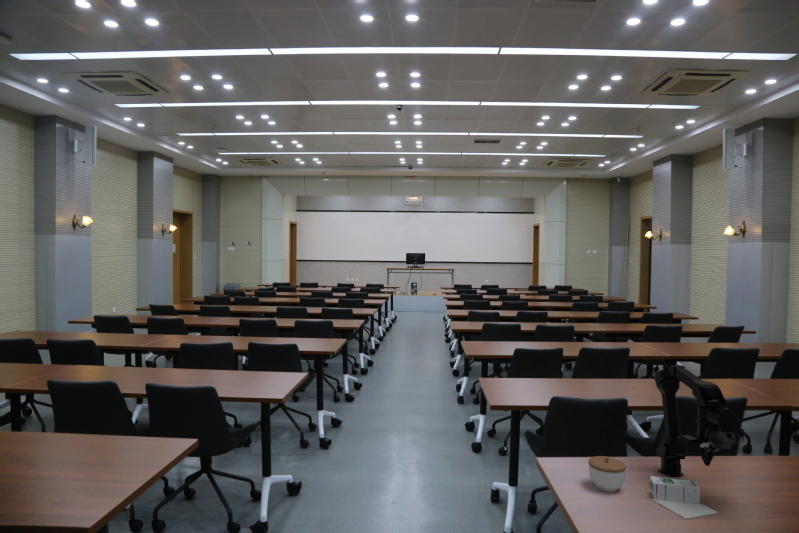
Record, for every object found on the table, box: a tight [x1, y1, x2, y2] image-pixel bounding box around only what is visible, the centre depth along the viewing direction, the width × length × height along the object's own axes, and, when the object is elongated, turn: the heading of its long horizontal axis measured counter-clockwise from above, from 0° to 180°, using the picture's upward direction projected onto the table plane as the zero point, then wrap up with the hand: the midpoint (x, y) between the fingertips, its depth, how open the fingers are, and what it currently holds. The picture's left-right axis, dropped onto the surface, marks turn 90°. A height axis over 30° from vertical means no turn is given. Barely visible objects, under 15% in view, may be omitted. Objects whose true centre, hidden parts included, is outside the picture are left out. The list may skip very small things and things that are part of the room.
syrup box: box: [648, 475, 701, 503], centre depth 171 cm, size 6×6×14 cm
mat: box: [649, 497, 719, 520], centre depth 165 cm, size 14×14×1 cm
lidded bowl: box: [588, 455, 627, 493], centre depth 179 cm, size 13×13×11 cm
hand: (707, 465), depth 170 cm, fingers closed
